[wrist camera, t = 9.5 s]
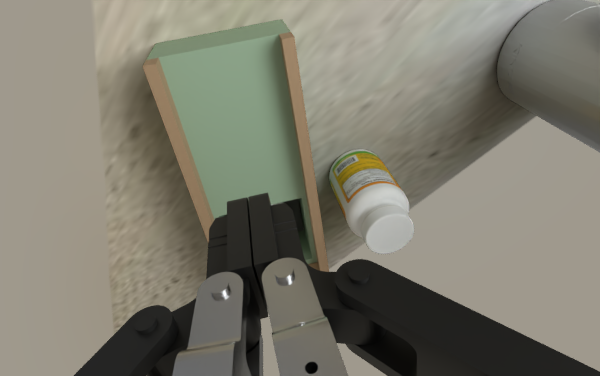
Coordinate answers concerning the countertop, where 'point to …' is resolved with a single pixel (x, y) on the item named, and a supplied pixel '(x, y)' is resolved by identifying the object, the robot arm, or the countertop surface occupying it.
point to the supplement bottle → (371, 201)
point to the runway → (240, 123)
